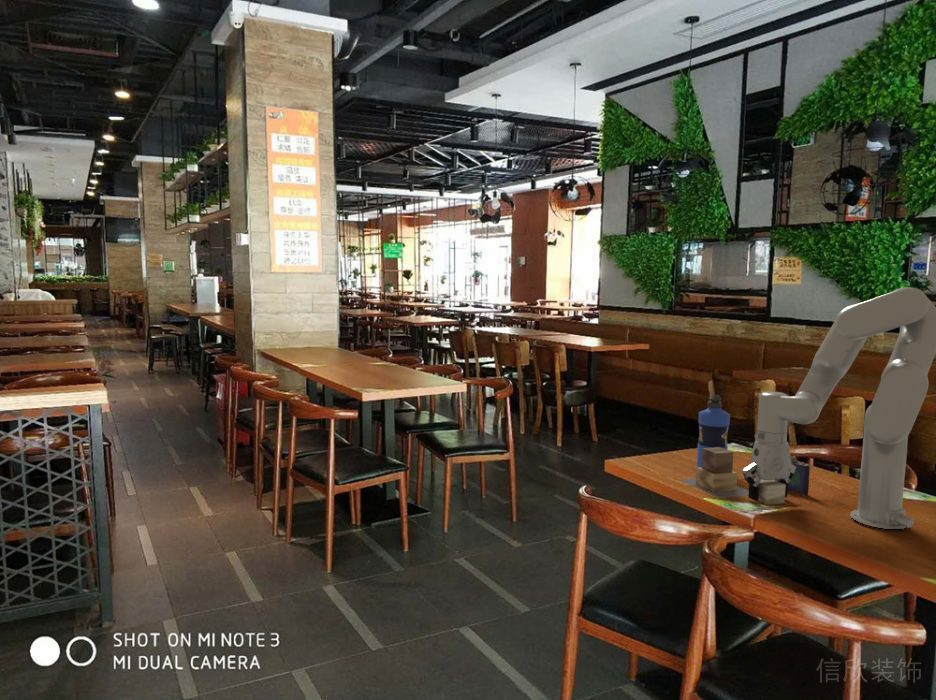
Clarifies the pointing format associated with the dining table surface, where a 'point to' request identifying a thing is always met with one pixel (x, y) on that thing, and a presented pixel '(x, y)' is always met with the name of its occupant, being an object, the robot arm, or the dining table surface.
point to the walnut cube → (717, 460)
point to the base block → (716, 480)
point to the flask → (799, 477)
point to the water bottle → (712, 427)
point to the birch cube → (771, 492)
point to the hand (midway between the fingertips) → (767, 497)
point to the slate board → (721, 494)
